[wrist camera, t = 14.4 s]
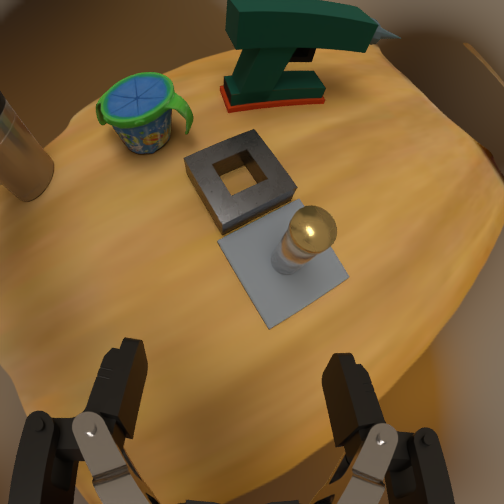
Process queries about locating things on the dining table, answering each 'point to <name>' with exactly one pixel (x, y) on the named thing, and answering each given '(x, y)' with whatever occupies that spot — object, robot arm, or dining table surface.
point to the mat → (267, 278)
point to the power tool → (288, 48)
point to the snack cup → (142, 110)
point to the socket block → (249, 200)
